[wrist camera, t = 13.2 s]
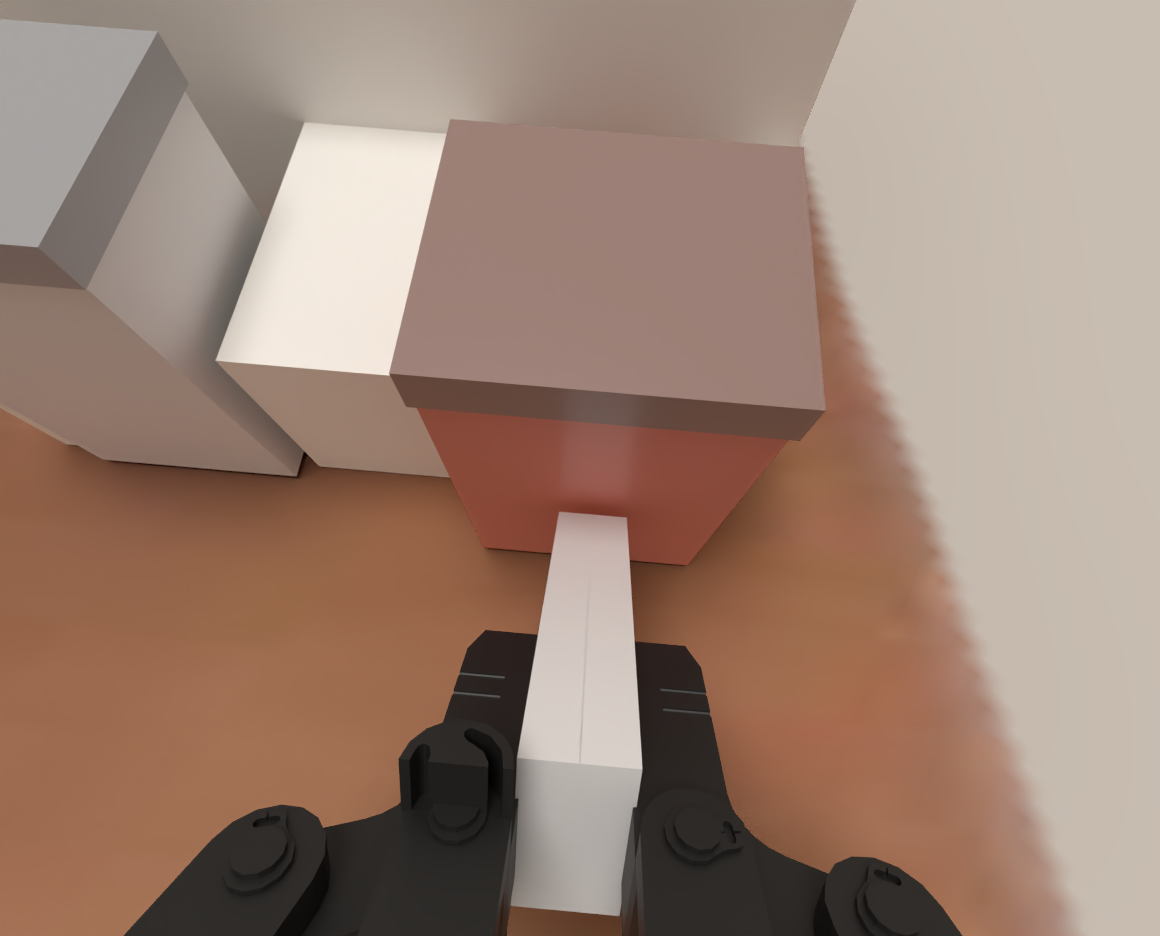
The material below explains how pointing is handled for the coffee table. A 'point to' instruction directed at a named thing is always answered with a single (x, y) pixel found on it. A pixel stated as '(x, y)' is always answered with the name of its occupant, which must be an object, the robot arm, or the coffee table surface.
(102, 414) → the grey capped white pillar
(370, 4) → the rack
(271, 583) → the coffee table surface
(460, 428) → the capped red pillar
